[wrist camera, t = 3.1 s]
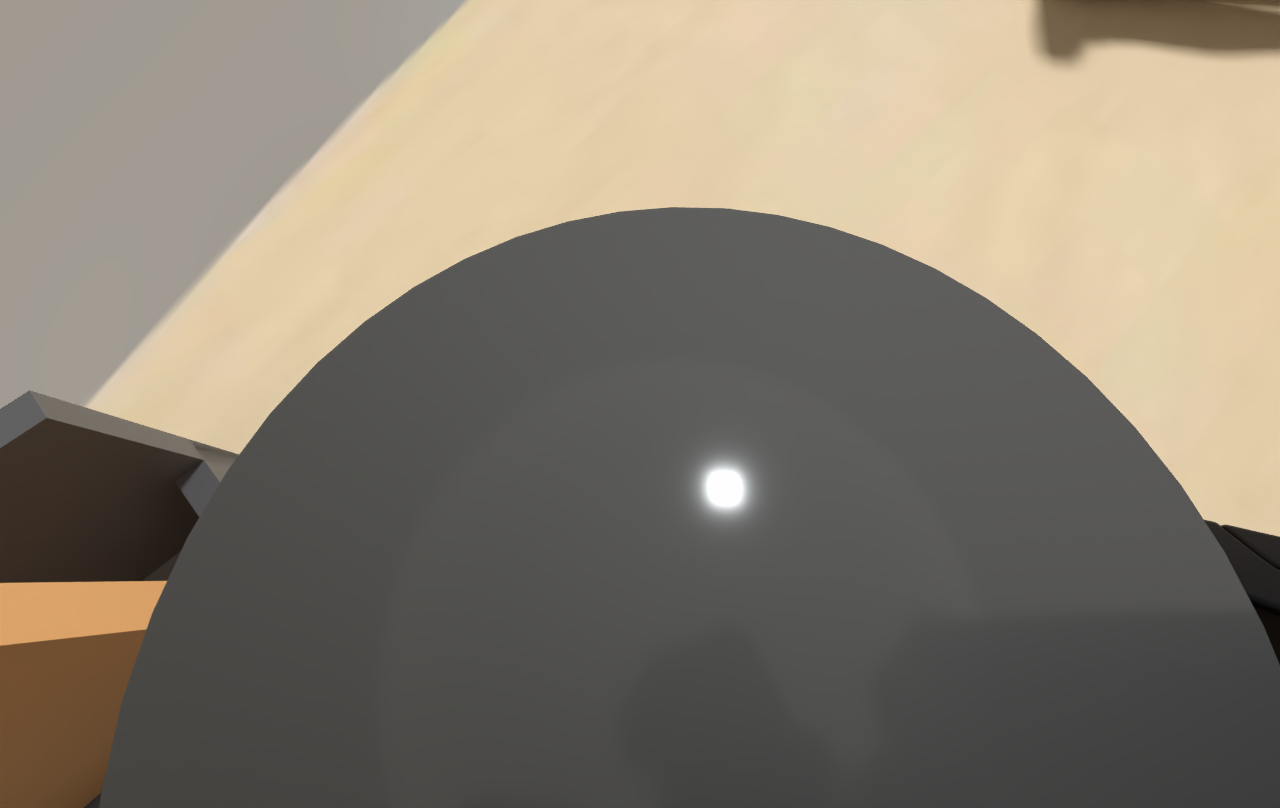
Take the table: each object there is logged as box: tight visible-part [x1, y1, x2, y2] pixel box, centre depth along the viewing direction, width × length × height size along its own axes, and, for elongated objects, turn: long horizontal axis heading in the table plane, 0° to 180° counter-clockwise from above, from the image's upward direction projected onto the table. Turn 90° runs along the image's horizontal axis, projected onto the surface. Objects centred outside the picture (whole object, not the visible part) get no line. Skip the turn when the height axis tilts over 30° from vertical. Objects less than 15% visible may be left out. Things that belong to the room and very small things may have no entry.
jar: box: [99, 207, 1280, 808], centre depth 9 cm, size 7×7×12 cm
